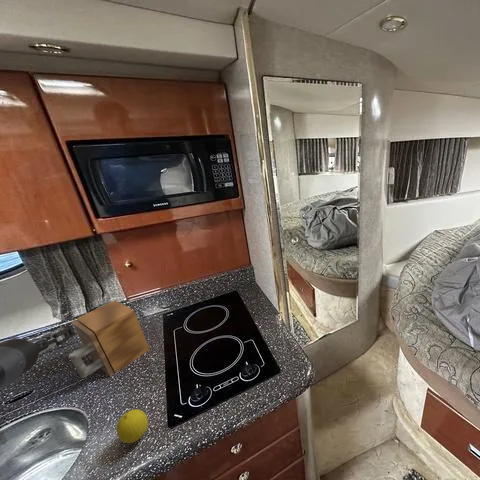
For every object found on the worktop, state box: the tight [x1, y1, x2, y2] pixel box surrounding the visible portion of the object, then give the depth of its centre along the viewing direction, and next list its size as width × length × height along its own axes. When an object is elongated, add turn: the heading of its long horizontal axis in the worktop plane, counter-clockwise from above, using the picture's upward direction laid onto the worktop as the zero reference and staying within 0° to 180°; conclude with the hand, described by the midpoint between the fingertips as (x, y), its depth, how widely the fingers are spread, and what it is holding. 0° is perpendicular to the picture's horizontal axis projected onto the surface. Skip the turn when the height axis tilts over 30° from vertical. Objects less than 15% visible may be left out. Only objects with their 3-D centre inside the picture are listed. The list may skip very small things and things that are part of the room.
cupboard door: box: [68, 319, 115, 379], centre depth 71 cm, size 6×12×16 cm, turn 61°
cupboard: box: [76, 299, 151, 374], centre depth 78 cm, size 10×12×16 cm
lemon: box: [116, 408, 149, 444], centre depth 56 cm, size 6×6×8 cm
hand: (46, 336), depth 60 cm, fingers open, 8 cm apart
